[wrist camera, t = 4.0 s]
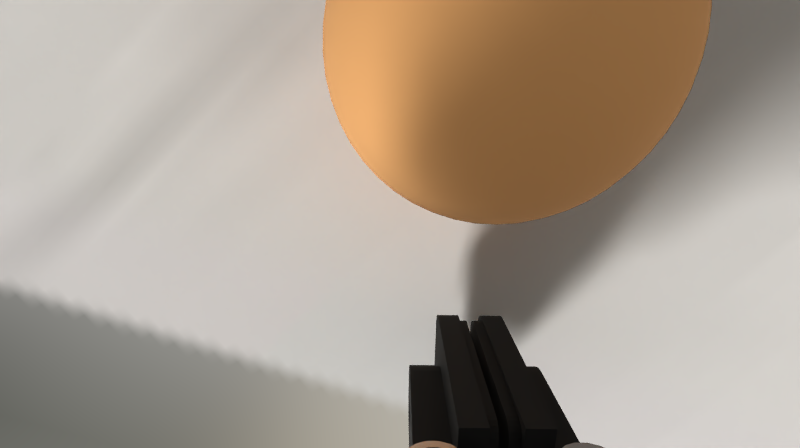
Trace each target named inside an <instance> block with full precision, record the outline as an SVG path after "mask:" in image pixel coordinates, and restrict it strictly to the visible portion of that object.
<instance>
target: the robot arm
mask: <svg viewBox="0 0 800 448" xmlns="http://www.w3.org/2000/svg"><path fill="white" fill-rule="evenodd" d="M409 448H604V447H602V446H599V445H595V444H590V443H580V442H579V440H578V439H577V437H576V435H575V433H574V431H573V429H572V428H571V426H570V424H569V422H568V420H567V418H566V417H565V415H564V413H563V411H562V409H561V407H560V406H559V404H558V402H557V400H556V398H555V396H554V395H553V393H552V391H551V389H550V387H549V385H548V384H547V382H546V380H545V378H544V376H543V374H542V373H541V371H540V370H539V368H537V367H526V365H525V363H524V361H523V359H522V357H521V355H520V353H519V351H518V349H517V347H516V345H515V343H514V341H513V339H512V337H511V335H510V333H509V331H508V329H507V327H506V325H505V323H504V321H503V319H502V317H501V316H479V318H478V321H472V322H471V330H470V331H469V328H468V325H467V322H466V321H460V320H459V317H458V315H437V320H436V344H435V365H410V366H409Z"/></svg>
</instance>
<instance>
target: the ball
mask: <svg viewBox="0 0 800 448" xmlns="http://www.w3.org/2000/svg"><path fill="white" fill-rule="evenodd" d="M711 8H712V0H326V5H325V13H324V21H323V57H324V66H325V75H326V80H327V84H328V88H329V93H330V97H331V101H332V103H333V106H334V109H335V111H336V114H337V117H338V119H339V122H340V124H341V126H342V128H343V130H344V132H345V133H346V135H347V137H348V139H349V141H350V143H351V144H352V146H353V147H354V149H355V150H356V152H357V153H358V154H359V156H360V157H361V159H362V160H363V161H364V163H365V164H366V165H367V166H368V167H369V168H370V169H371V170H372V171H373V172H374V174H375V175H376V176H377V177H378V178H379V179H381V180H382V181H383V182H384V183H385V184H386V185H388V186H389V187H390V188H391V189H392V190H393V191H395V192H396V193H398V194H399V195H401V196H403V197H404V198H406V199H407V200H409V201H410V202H412V203H414V204H416V205H418V206H420V207H422V208H424V209H426V210H429V211H431V212H433V213H436V214H439V215H442V216H446V217H449V218H452V219H455V220H460V221H466V222H471V223H479V224H496V225H497V224H512V223H521V222H526V221H532V220H537V219H541V218H546V217H549V216H552V215H555V214H558V213H561V212H564V211H567V210H569V209H572V208H574V207H576V206H578V205H580V204H582V203H585V202H587V201H589V200H590V199H592V198H594V197H595V196H597V195H599V194H600V193H602V192H604V191H605V190H607V189H608V188H610V187H611V186H612V185H614V184H615V183H616V182H617V181H619V180H620V179H621V178H622V177H624V176H625V175H626V174H628V173H629V172H630V171H631V170H632V169H634V168H635V167H636V166H637V165H638V164H639V163H640V162H641V161H642V160H643V159H644V158H645V157H646V156H647V155H648V154H649V153H650V152H651V151H652V149H653V148H654V147H655V146H656V144H657V143H658V142H659V141H660V140H661V138H662V137H663V136H664V135H665V133H666V132H667V131H668V129H669V127H670V126H671V124H672V123H673V121H674V120H675V118H676V117H677V115H678V113H679V112H680V110H681V108H682V106H683V104H684V102H685V100H686V98H687V96H688V94H689V92H690V90H691V88H692V85H693V83H694V80H695V77H696V74H697V72H698V69H699V66H700V63H701V61H702V58H703V53H704V49H705V45H706V41H707V37H708V33H709V24H710V16H711Z"/></svg>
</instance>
